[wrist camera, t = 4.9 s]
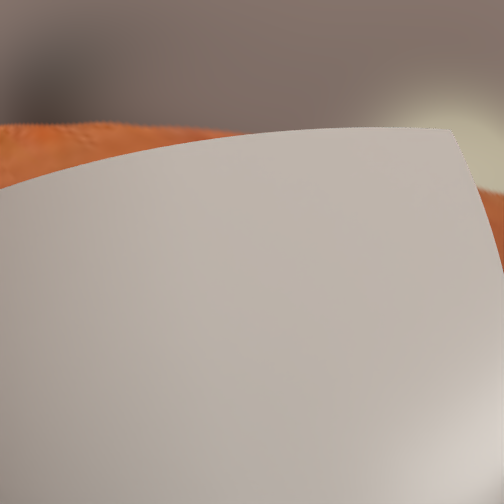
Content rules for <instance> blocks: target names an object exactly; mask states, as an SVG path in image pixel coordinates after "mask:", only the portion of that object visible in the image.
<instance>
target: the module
mask: <svg viewBox="0 0 504 504" xmlns="http://www.w3.org/2000/svg"><path fill="white" fill-rule="evenodd" d="M0 504H504V273H503V269H502V265H501V261H500V258H499V254H498V250H497V247H496V243H495V240H494V236H493V233H492V230H491V227H490V224H489V221H488V218H487V215H486V212H485V209H484V206H483V203H482V201H481V198H480V195H479V193H478V190H477V187H476V185H475V182H474V180H473V177H472V175H471V173H470V170H469V168H468V166H467V163H466V161H465V159H464V156H463V154H462V152H461V150H460V148H459V146H458V143H457V141H456V140H455V137H454V135H453V133H452V131H451V130H447V129H429V128H399V127H397V128H396V127H392V128H391V127H362V128H328V129H309V130H294V131H282V132H269V133H259V134H249V135H241V136H232V137H224V138H217V139H210V140H203V141H196V142H190V143H184V144H178V145H172V146H166V147H161V148H155V149H150V150H145V151H140V152H135V153H130V154H126V155H121V156H116V157H112V158H108V159H103V160H99V161H95V162H91V163H87V164H83V165H79V166H75V167H72V168H68V169H64V170H61V171H57V172H54V173H50V174H47V175H43V176H40V177H37V178H34V179H30V180H27V181H24V182H21V183H18V184H15V185H12V186H9V187H6V188H3V189H0Z"/></svg>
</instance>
